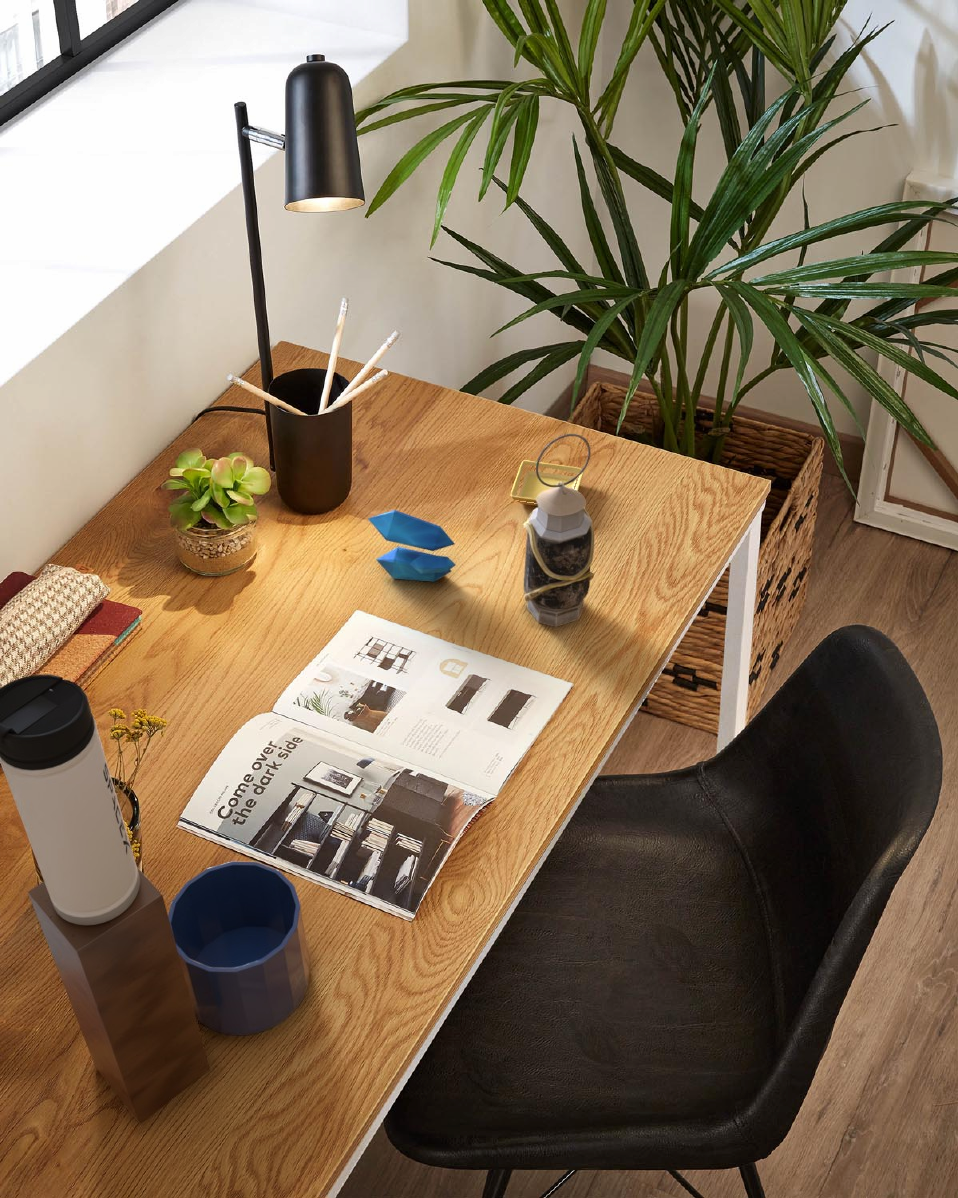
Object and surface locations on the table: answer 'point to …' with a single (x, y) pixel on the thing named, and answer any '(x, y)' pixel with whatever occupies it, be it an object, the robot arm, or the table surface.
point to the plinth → (129, 998)
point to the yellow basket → (535, 487)
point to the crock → (241, 946)
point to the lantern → (558, 552)
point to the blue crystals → (417, 535)
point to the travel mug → (66, 798)
